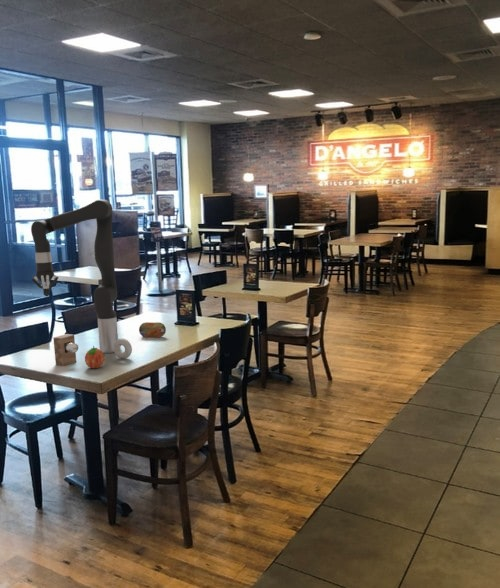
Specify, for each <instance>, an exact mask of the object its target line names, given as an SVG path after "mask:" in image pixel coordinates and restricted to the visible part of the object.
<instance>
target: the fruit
mask: <svg viewBox="0 0 500 588" xmlns="http://www.w3.org/2000/svg"><path fill="white" fill-rule="evenodd" d="M84 362H85V364H86V366H87V367H88V368H90V369H99V368H101V367H102V366H103V364H104V363H105V353H103V352H102V351H101V350H100V348H98V347H95V346H94V345H93V347H92V348H90V349H88V350H87V351H86V353H85V355H84Z"/></svg>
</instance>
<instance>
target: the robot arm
mask: <svg viewBox="0 0 500 588" xmlns="http://www.w3.org/2000/svg"><path fill="white" fill-rule="evenodd" d="M113 211H114V210H113V205H112V204H111V202H110V201H109V200H107V199H97V200H94V201H92V202H91V203H89V204H87V205H85V206H82V207H80V208H78V209H77V208H76V209H74V210H70V211H67V212H64V213H59V214H56V215H53V216H52V217H49V218H46V219H42V220H35V221H33V222H32V224H31V227H30V228H31V229H30V230H31V231H30V232H31V235H32V240H33V242H34V251H35V256H34V257H35V267H36V274H35V276H34V277H33V278H32V279H31V281H32V282H34V284H36V286H37V287H38V288H40V289H42V290H43V291H42V292H43V295H44V297H49V296H50V294H51V291H50V290H51V289H52V288H53V287H54V285H55V284H56V283H57V281H58V280H59V276H57V275H56V274H55V272H54V270H53V269H54V268H53V257H52V253H51V244H50V240H48V239H47V235H48V234H50V233H52V232H53V233H54V232H56V231H59V230H63V229H66V228H69V227H72V226H74V225H77V224H79V223H82V222H86V221H90V220H96V233H95V239H94V246H93V249H94V261H95V263H96V265H97V268H98V269H99V272H100V275H101V286H98V287H96V288H95V289H94V291H93V304H94V305H93V306H94V311H95V312H94V313H95V314H96V315H97V317H96V318H97V328H98V342H99V344H98V345H99V349H100V350H101V351H102V352H103V354H111V353H115V352H114V349H113V345H114V343H115V341H116V340H118V339H119V332H118V321H117V320H118V319H117V311H115V310H114V309H113V308H112V306H113V305H112V303H113V302H115V301H116V299H117V298H118V287H117V281H116V274H115V273H116V271H115V251H114V249H115V248H114V236H113V228H112V227H113ZM52 279H53V281H52V283H51V280H52ZM39 281H40V282H41V283H40V282H39Z"/></svg>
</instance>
